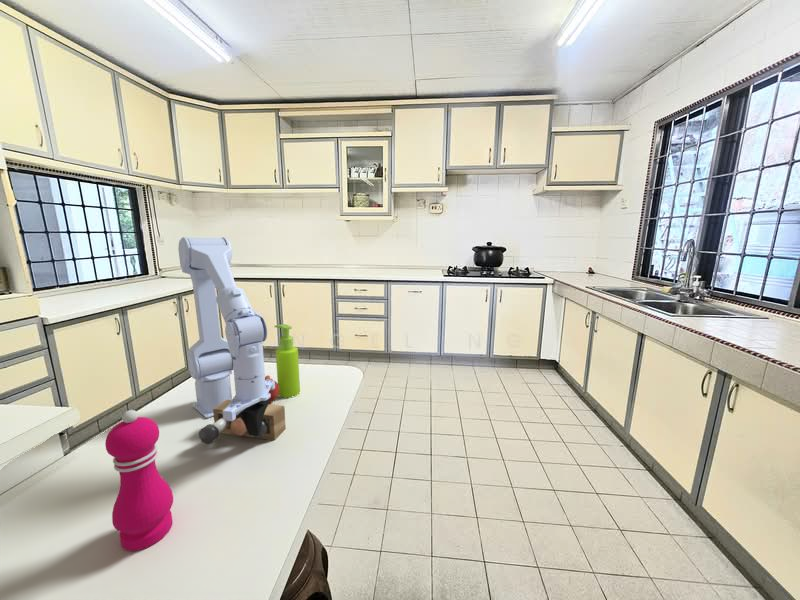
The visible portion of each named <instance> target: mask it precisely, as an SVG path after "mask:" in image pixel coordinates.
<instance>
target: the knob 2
mask: <svg viewBox="0 0 800 600" xmlns="http://www.w3.org/2000/svg"><path fill="white" fill-rule="evenodd" d="M269 426H270V424H269V419H263V420H262V425H261V430H260V434H259V435H258V436H254V437H253V438H255V437H256V438H255V439H262V438H261V437H262V436H264V435H265V434H266V433H267V432H268V430H269Z"/></svg>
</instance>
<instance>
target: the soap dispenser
mask: <svg viewBox="0 0 800 600" xmlns="http://www.w3.org/2000/svg"><path fill="white" fill-rule="evenodd" d="M274 328H279V329H282V330H281V331H282V336H281V337H280V338H279V348H277V349H276V350H275V360H276V375H277V384H278V385H279V388H280V390H279V395H280V396H281V397H280V396H279V395H278V396H279V397H280V398H282V397H291V398H293V397H292V396H295V395H297V394H298V395H299V394H300V393H299V392H301V387H300V384H301V383H300V368H299V367H300V366H299V349H298V347H296V346H294V343H293V341H294V340H293V336H291V335H290V330H291V329H293V327H292V325H288V324H285V323H282V324H278V325H274ZM298 395H297V396H298ZM295 397H296V396H295Z"/></svg>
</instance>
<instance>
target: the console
mask: <svg viewBox="0 0 800 600" xmlns="http://www.w3.org/2000/svg"><path fill="white" fill-rule="evenodd" d="M232 400H233V399H232ZM232 400H225V401H224V402H223V403H221V404H220V405H218V406H217V407H215V408H214V409H213V414H214V416H213V421H214V423H215V422H217V421H218V420H219V419H221V418H222V417H223V410H224V409H226V408H227V407H228V405H229V404H230V402H231V401H232ZM285 412H286V411H285V405H279V404H278V405H277V404H272V403H270V404H268V406H267V408H266V410H265V413H264V416H263V419H269V424H270V426H269V430H268V432H267V433H266V434H265V435H264V436H262V437H261V438H260V439H264V440H271V441H272V440H273V441H276V440H277V438H279V436H281V434H282V433H284V431H285V430H286V429H287V428H286V413H285ZM238 417H240V416H239V415H236V419H237V418H238ZM236 419H235V420H236ZM233 421H234V420H233ZM233 421H231V423H232V422H233ZM214 423H213V424H214ZM219 434H227V435H233V436H234V435H235V434H234V433H233V432H232V430H231V424H230V425H229V426H228V427H227V428H225V429H224V430H223V431H221V432H220V433H219ZM235 436H236V435H235ZM240 437H250V438H255V439H257V438H256V437H254V436H253V435H249V434H248V431H247V432H246V433H244V434H243V435H241V436H240Z"/></svg>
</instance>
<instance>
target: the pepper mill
mask: <svg viewBox="0 0 800 600" xmlns="http://www.w3.org/2000/svg"><path fill="white" fill-rule="evenodd" d="M121 420H122V421H121V422H118V423H117V424H116V425H115V426H113V427H112V428H111V429H110V431H109V432H108V433H107V436H106V439H105V445H104V446H105V450H106V452H107V454H108V455H110V456H111V457H113V459H112V463H113V465H114V466H113V468H114V470H115V471H117V472H119V480H120V482H119V483H120V485H119V491H118V493H117V497H116V500H115V502H114V504H113V508H112V513H111V518H112V519H111V520H112V525H113V527H114V529H116V531H118V532H119V540H120V546H121V547H122V549H124V550H125V551H129V552H136V551H141V550H144V549H147V548H149V547H152V546H154V545H155V544H156V543H158V542H159V541H160V540H162V539H164V538H165V536H166V535H167V534H168V533H169V532H170V530H171V528H172V527H173V524H174V523H173V516H172V515H173V514H172V511H171V508H172V507H173V503H174V495H173V490H172V489H171V487H170V485H169V484H168V483H167V482H166V480H165V479H164V478H163V477H162V476H161V474H160V472H159V471H158V468H157V465H156V459H157V458H158V455H159V451H158V445H156V443H157V442H158V440H159V438H160V428H159V426H158V424H157V423H156V421H154V420H153V419H151V418H150V417H146V416H145V417H144V416H140V417H139V414H138V412H137V410H135V409H134V410H133V409H130V410H127V411H125V412H124V413H122V416H121Z"/></svg>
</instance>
